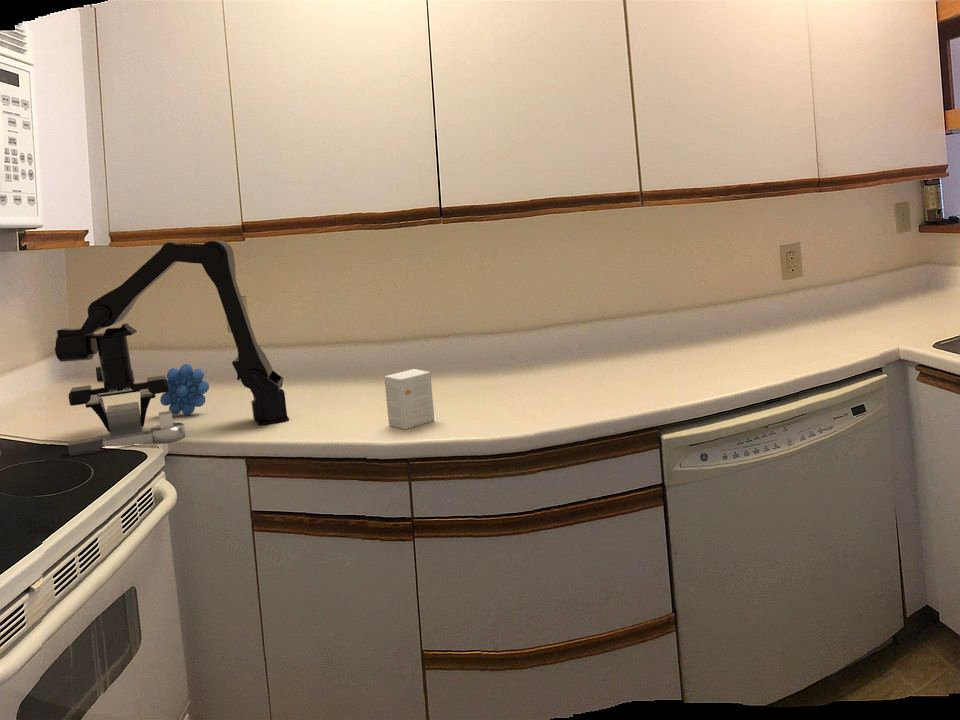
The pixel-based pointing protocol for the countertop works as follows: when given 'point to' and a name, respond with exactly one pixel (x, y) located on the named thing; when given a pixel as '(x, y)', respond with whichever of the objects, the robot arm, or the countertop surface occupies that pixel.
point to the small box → (409, 398)
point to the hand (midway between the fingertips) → (126, 429)
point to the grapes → (184, 390)
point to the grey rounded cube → (124, 419)
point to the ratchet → (134, 436)
